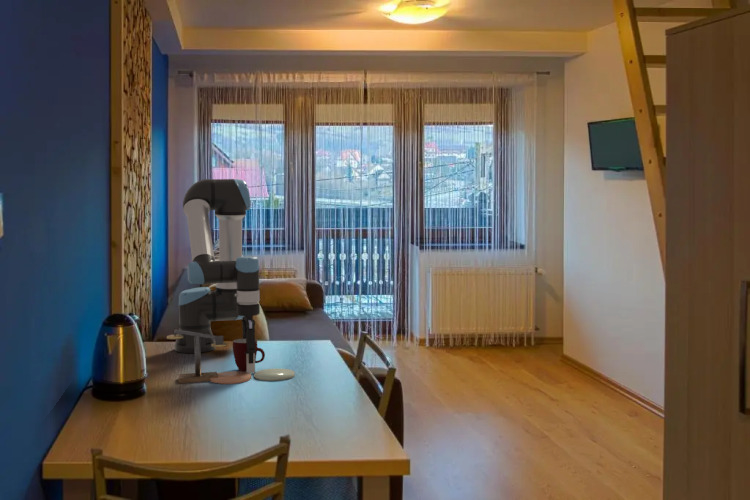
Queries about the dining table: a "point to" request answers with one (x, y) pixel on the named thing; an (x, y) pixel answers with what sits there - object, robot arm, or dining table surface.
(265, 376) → the dish sage
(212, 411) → the dining table surface
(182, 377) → the balance
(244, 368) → the mug
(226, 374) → the dish terracotta
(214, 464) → the dining table surface
